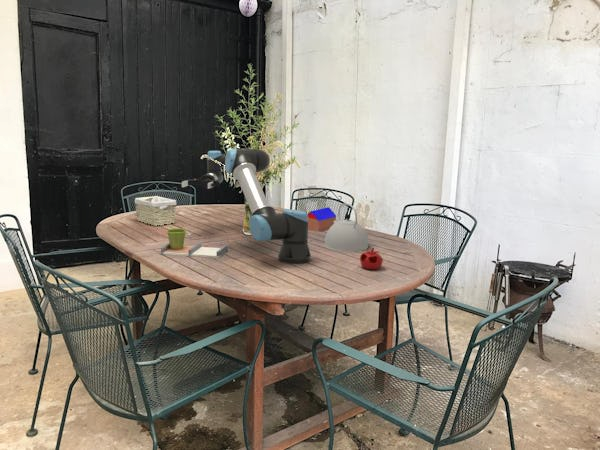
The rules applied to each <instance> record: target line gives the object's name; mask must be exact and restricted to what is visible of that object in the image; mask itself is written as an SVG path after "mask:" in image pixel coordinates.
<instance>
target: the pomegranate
mask: <svg viewBox="0 0 600 450" xmlns="http://www.w3.org/2000/svg"><path fill="white" fill-rule="evenodd" d="M374 250H375V247H371V249H370V250H368V249H366V250H365V251H364V252H363V253H361V255H360V257H359V262H360V265H361V267H362V268H364V269H366V270H371V269H376V270H379V269H380V268H381V267H382V265H383V262H384V259H383V257H382V256H381V255H380V254H379V253H380V250H376V251H374Z"/></svg>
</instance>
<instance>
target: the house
mask: <svg viewBox="0 0 600 450" xmlns="http://www.w3.org/2000/svg"><path fill="white" fill-rule="evenodd" d="M307 214H308V222H309V223H308V231H313V232H322V231H324V230H325V231H326V230H329V228H330V227H331V226H332V225H333V224H334V222H333V221H335V220H337V214H335V212H334V211H333V210H332V209H331V208H330V207H329V206H328V207H324V208H320V209H319V208H318V209H315V210H311V211H310V212H308V213H307Z"/></svg>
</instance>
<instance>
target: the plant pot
mask: <svg viewBox="0 0 600 450" xmlns="http://www.w3.org/2000/svg"><path fill="white" fill-rule="evenodd" d="M166 233H167V236H168V241H169V243H170V248H171V249H177V250H178V249H182V248H183V246H185V245H184V244H185V236H186V233H187V229H184V228H170V229H167V230H166ZM169 243H168V244H169Z"/></svg>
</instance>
